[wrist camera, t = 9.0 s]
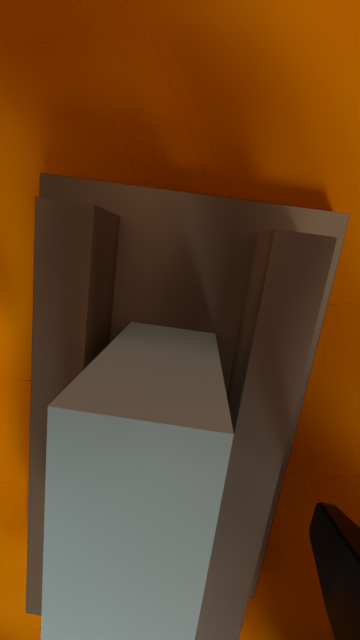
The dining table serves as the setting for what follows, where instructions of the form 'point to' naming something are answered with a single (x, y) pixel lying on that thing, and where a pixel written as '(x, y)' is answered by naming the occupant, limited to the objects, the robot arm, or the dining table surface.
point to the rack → (191, 314)
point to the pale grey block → (135, 488)
